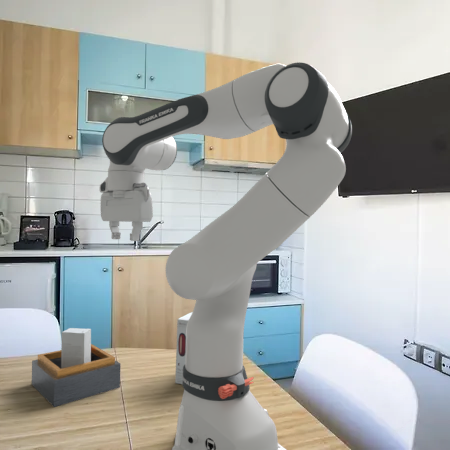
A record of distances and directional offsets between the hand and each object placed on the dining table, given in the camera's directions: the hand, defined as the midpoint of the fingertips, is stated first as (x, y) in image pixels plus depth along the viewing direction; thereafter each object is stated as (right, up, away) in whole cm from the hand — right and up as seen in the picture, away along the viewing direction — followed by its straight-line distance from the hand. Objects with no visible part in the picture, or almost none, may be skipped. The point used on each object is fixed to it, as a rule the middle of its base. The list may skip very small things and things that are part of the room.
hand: (124, 240), depth 95 cm
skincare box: (-13, -35, +1) cm, 37 cm away
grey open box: (-14, -37, +2) cm, 39 cm away
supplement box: (+18, -38, +6) cm, 42 cm away
